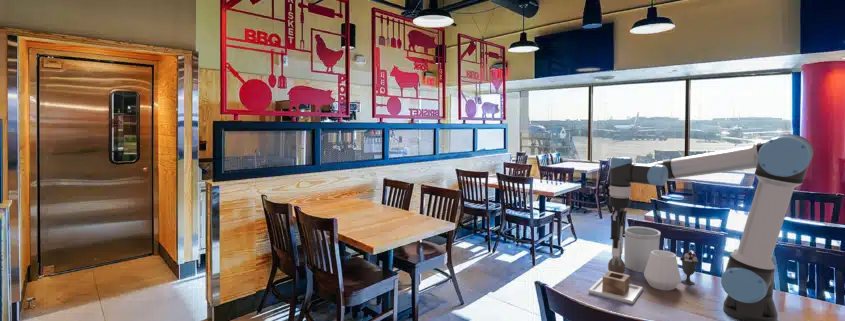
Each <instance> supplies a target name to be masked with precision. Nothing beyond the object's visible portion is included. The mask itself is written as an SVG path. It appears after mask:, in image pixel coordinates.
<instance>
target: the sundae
mask: <svg viewBox="0 0 845 321" xmlns="http://www.w3.org/2000/svg"><path fill="white" fill-rule="evenodd" d="M696 250H697V249H696V248H694V249H693V250H692V251H689V252H687V253H685V254H684V255H683V254H682V253H681V254H680V256H681V257H679V261H681V265H682V272H683V273H684V274H685V275H686V279H684V280H683V279H681V282H680V283H681V284H683V285H686V286H694V285H696V284H695V282H693V281H692V280H691V276H692V275H693V274H695V271H696V268H697V264H698V263H699V262H700V261H699V259H698V258H697V255H696V253H693V252H695V251H696Z"/></svg>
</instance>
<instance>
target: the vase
mask: <svg viewBox="0 0 845 321" xmlns="http://www.w3.org/2000/svg"><path fill="white" fill-rule="evenodd" d="M607 271H612V272H617V273H621V274H625V271H626V267H625V261H624V260H623V259H622V258H621V266H614V265H612V258H611V259H610V260H609V261H608V264H607Z"/></svg>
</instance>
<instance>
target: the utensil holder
mask: <svg viewBox="0 0 845 321" xmlns="http://www.w3.org/2000/svg"><path fill="white" fill-rule="evenodd" d="M624 235H626V236H625V237H624V252H623V254H624V258H623V259H624V264H625V269H626V268H627V269H628V270H631V271H634V272H637V273H644V271H645V268H646V265H647V263H648V260H649V257H650V254H651V251H654V250H660V239H661V235H662V233H661V231H660V230H658V229H656V228H652V227H645V226H628V227H625V234H624Z"/></svg>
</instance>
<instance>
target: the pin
mask: <svg viewBox="0 0 845 321" xmlns="http://www.w3.org/2000/svg"><path fill="white" fill-rule="evenodd" d="M622 233H623V226H622V225H621V228H620V256H619V257H618V256H613V255H611V256H612V257H611V259H612V265H614V266H621V259H622V254H623V250H622V238H623V237H622Z"/></svg>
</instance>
